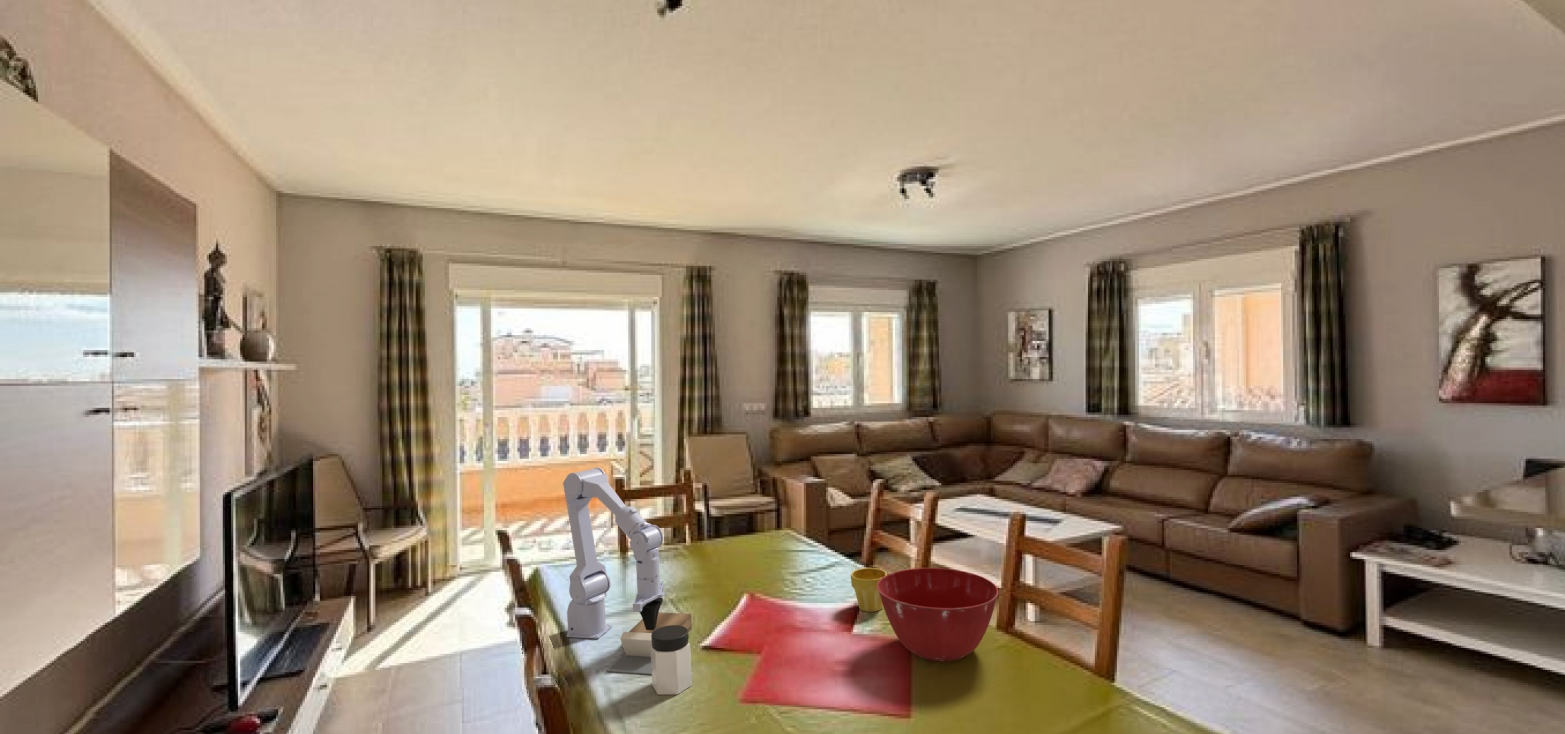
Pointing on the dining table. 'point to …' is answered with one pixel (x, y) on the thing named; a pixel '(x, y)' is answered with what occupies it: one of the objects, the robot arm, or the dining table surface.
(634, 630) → the plate
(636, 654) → the cream rectangular block
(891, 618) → the mixing bowl
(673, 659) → the jar
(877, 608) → the plant pot
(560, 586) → the dining table surface
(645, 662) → the mat
